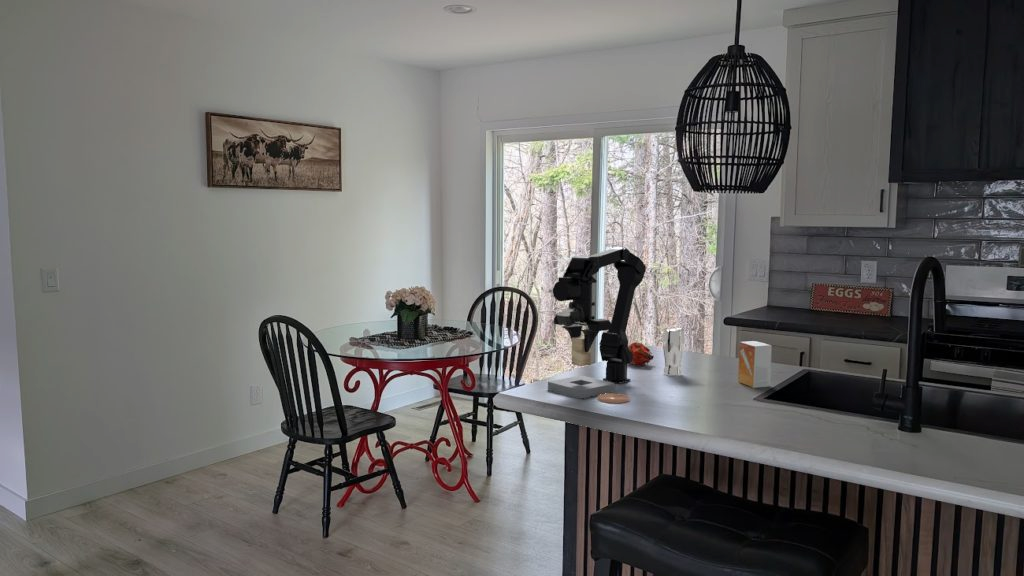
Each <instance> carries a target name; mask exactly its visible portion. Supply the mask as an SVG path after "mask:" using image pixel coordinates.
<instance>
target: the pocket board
mask: <svg viewBox="0 0 1024 576" xmlns="http://www.w3.org/2000/svg"><path fill="white" fill-rule="evenodd" d="M615 384H616V383H613V382H608V381H604V380H603V379H599V378H594V377H589V376H585V375H576V376H570V377H564V378H561V379H553V380H550V381H549V380H548V382H547V390H548V391H551V392H555V393H558V394H561V395H565V396H567V397H572V398H576V399H579V398H581V399H580V400H583V399H582V398H584V399H587V398H586V397H588V398H591V397H590V396H593V397H596V396H595V395H597V396H599V395H600V394H605V393H606V394H607V393H615Z"/></svg>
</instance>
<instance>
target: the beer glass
mask: <svg viewBox="0 0 1024 576" xmlns="http://www.w3.org/2000/svg"><path fill="white" fill-rule="evenodd" d="M685 339H686V338H685V329H684V328H679V327H666V328H664V329H663V336H662V349H663V357H664V370H663V375H664V374H665V376H668V377H680V376H683V369H682V361H683V355H684V351H685Z"/></svg>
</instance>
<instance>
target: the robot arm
mask: <svg viewBox="0 0 1024 576" xmlns="http://www.w3.org/2000/svg"><path fill="white" fill-rule="evenodd" d="M612 264H613V267H614V268H615V269H616V270H617V272H616V276H617V280H618V283H619V286H618V287H619V288H618V291H617V297H616V300H615V305H614V310H613V314H612V319H611V320H610V319H605V318H595V315H592V314H593V307H596V305H595V304H596V302H595V301H593V284H594V283H595V284H596V283H597V279H596V278H595V277H594V275H595V274H598V273H599V271H600V269H602V268H603V267H606V266H607V267H608V266H609V265H612ZM646 268H647V267H646V264H645V263H644V261H643V260H641V258H640V257H639V256H637V255H636V254H634V253H633V252H631V251H630V250H629V249H628V247H627V248H626V247H623V246H622V247H621V246H614V247H611V249H607V250H604V251H601V252H598V253H595V254H592V255H574V256H572V257H571V258H570V261H569V263H568V265H567V267H566V269H565V271H564V274H563V275H562V276H561V277H558V278H557V279H558V281H557V282H556V283H554V285H553V288H552V295H553V296H554V299H555V300H556V301H558V302H567V301H568V302H569V301H570V302H569V303H568V308H566V309H563V310H561V311H560V312H558V313H557V314H556V315H554V318H553V324H554V325H559V326H562V328H563V329H565V330H566V331H567V332H568V334H569V337H570V339H571V341H572V338H573V337H580V336H582V333H583V337H584V347H585V352H588V351H589V349H590V347H591V348H592V346H593V343H594V341H595V340H596V338H597V337H598V334H599V333H600V332H602V334H601V337H600V341H599V354H600V356H601V361H602V362H606V367H605V378H602V380H603V381H607V382H611V383H615V384H621V383H622V384H623V383H627V382H631V380H632V379H630V378H628V365H631V364H633V363H632V360H633V355H632V353H631V352H630V350H629V349H628V346H629V338H628V336H627V333H626V331H627V326H628V322H629V318H630V313H631V309H632V304H633V299H634V295H635V290H636V289H637V287H638V286H639V285H640V284H641V283H642V281H643V279H644V276H645V274H646V272H647V271H646V270H647V269H646ZM583 326H584V327H585V329H583ZM605 331H606V332H605Z"/></svg>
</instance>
